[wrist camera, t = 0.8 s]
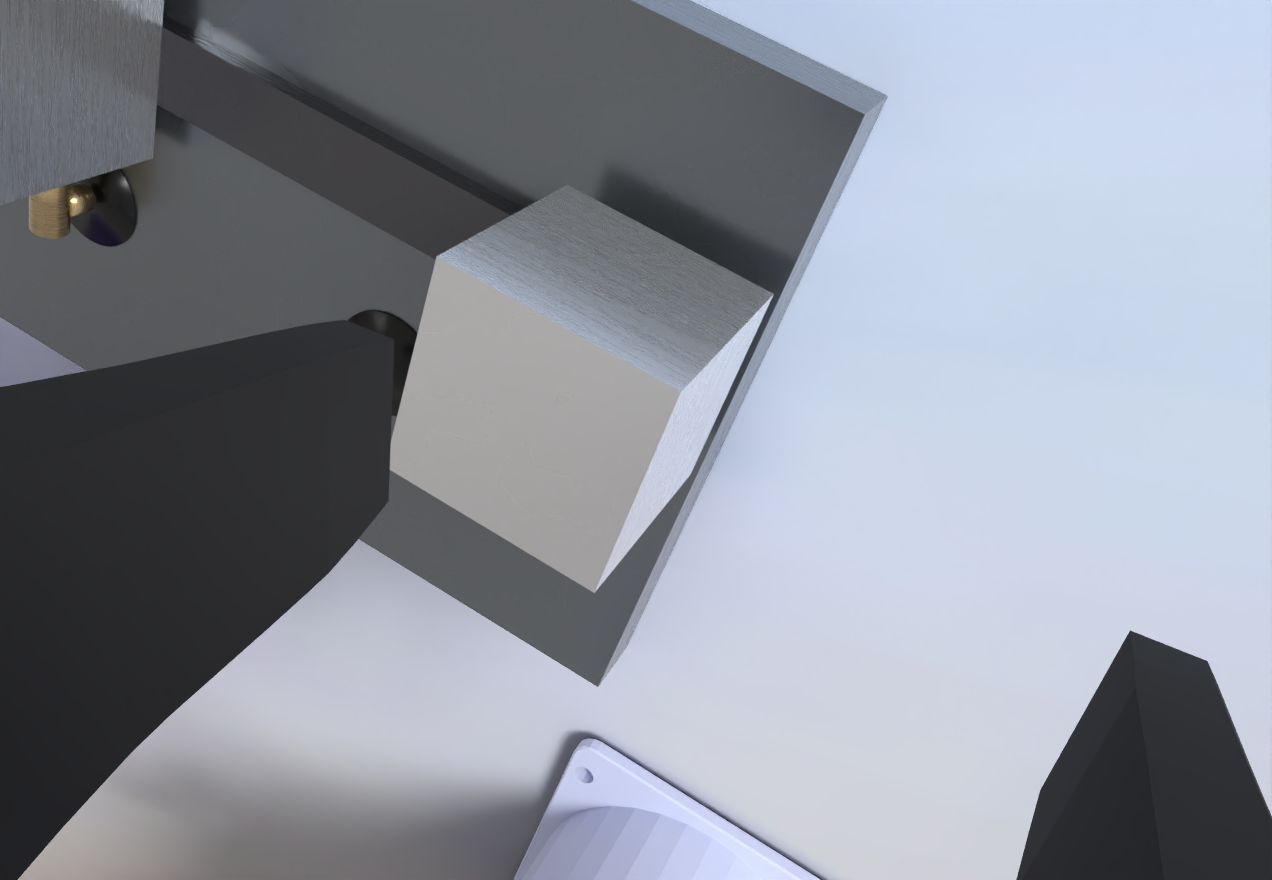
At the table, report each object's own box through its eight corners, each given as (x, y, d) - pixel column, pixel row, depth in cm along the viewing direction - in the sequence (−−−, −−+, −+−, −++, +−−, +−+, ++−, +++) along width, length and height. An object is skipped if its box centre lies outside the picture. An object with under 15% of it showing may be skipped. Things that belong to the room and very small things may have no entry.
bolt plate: (625, 648, 26) (495, 829, 22) (46, 295, 30) (-180, 385, 25) (887, 96, 18) (773, 189, 14) (52, -308, 21) (-281, -349, 17)
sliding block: (655, 556, 22) (551, 693, 19) (490, 458, 23) (358, 572, 19) (782, 285, 19) (681, 392, 15) (579, 178, 19) (436, 256, 16)
